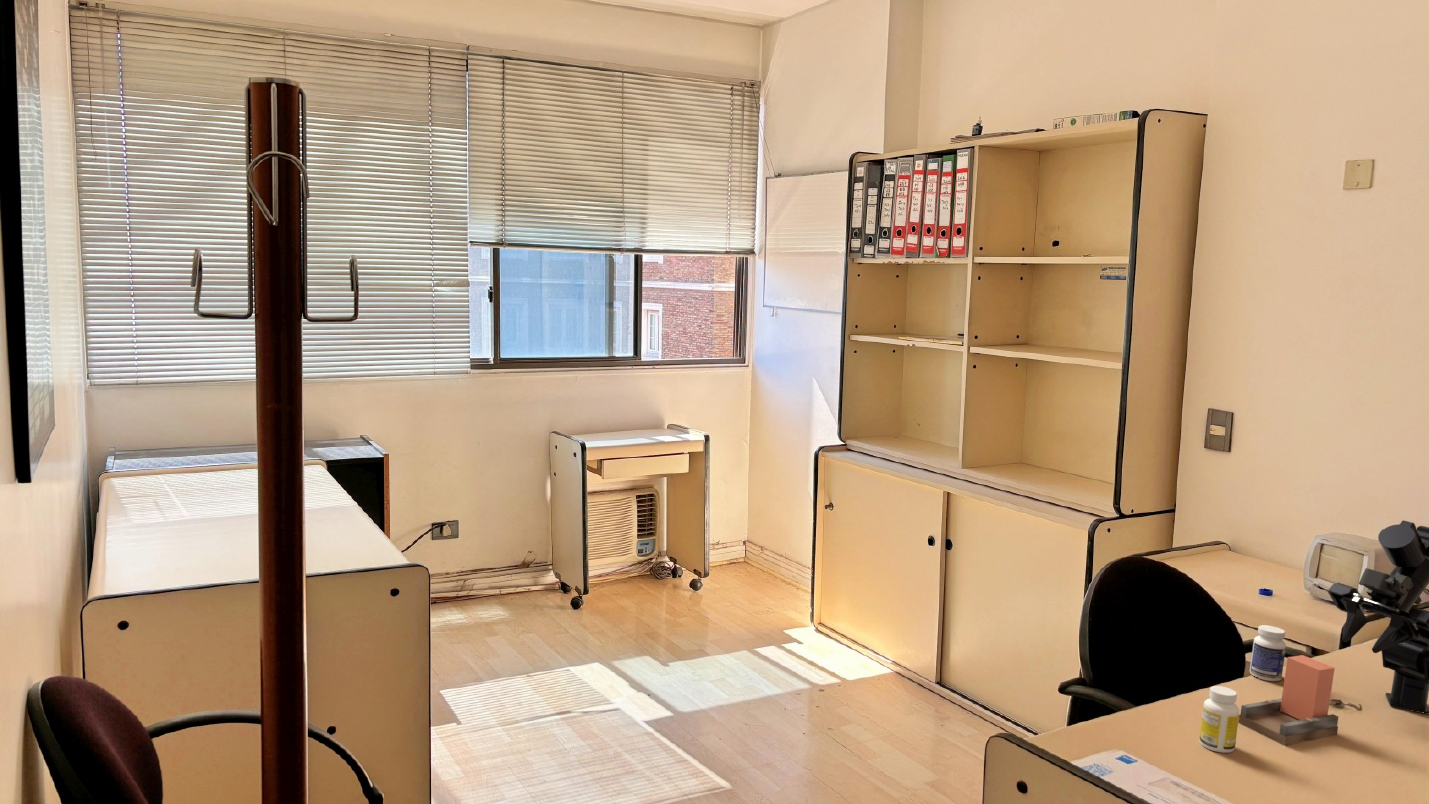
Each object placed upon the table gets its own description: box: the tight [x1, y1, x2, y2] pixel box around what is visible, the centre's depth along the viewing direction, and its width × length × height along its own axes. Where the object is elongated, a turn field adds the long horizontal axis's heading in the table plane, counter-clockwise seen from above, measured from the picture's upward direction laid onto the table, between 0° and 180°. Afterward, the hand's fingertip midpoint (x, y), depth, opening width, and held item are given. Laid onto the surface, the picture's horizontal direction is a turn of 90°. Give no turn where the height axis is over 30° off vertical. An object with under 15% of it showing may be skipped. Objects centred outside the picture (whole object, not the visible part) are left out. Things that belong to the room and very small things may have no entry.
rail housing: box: [1238, 697, 1339, 746], centre depth 178 cm, size 14×9×4 cm, turn 114°
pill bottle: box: [1249, 624, 1287, 682], centre depth 202 cm, size 6×6×10 cm
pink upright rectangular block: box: [1280, 654, 1336, 720], centre depth 179 cm, size 4×6×10 cm, turn 24°
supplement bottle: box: [1199, 685, 1240, 754], centre depth 169 cm, size 5×5×10 cm
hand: (1358, 646), depth 183 cm, fingers open, 5 cm apart
